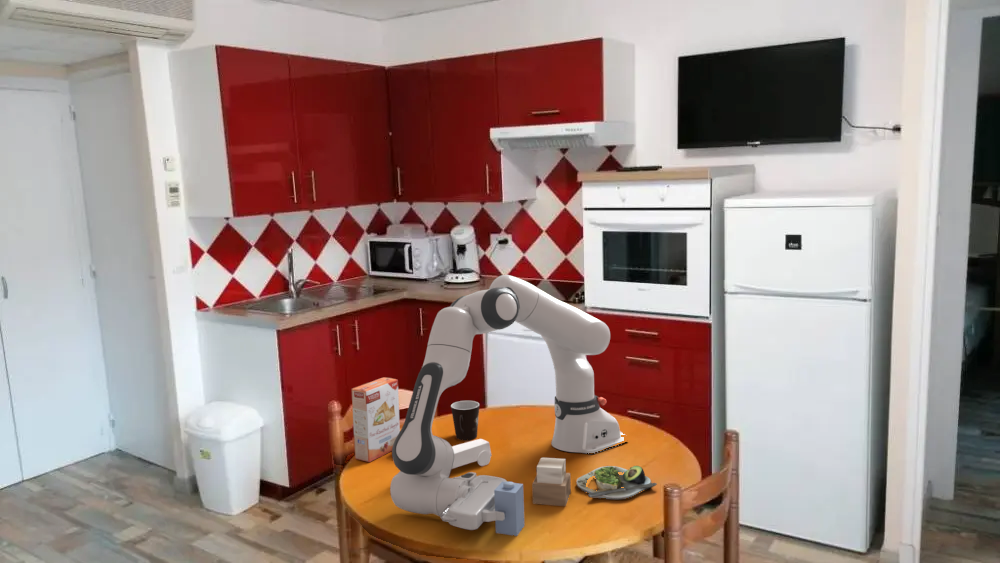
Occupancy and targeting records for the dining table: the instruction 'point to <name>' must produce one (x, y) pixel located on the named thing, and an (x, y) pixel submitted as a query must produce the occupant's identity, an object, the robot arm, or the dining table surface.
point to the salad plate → (616, 482)
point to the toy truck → (472, 453)
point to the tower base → (552, 492)
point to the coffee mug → (465, 419)
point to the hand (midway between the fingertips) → (512, 506)
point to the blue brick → (510, 507)
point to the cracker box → (375, 418)
